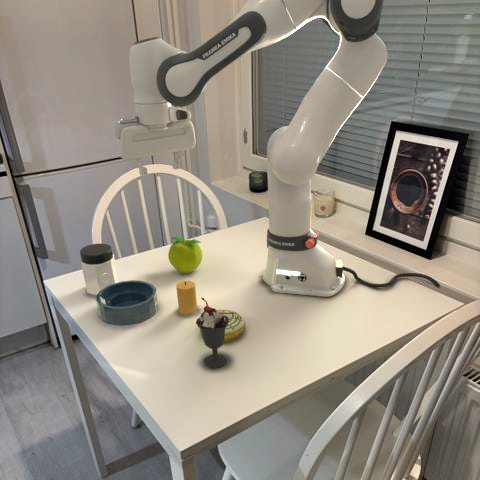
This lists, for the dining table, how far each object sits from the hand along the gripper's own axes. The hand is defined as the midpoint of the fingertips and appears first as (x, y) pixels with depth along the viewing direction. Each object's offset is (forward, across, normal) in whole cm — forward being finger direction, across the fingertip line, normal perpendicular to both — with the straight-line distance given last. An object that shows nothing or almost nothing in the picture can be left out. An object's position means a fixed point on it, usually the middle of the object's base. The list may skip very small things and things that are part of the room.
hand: (160, 171), depth 127 cm
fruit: (+29, +4, -1) cm, 30 cm away
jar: (+29, -20, +2) cm, 35 cm away
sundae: (+29, -12, -44) cm, 54 cm away
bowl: (+29, -19, -13) cm, 37 cm away
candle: (+29, -7, -22) cm, 37 cm away
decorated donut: (+29, -5, -35) cm, 46 cm away
